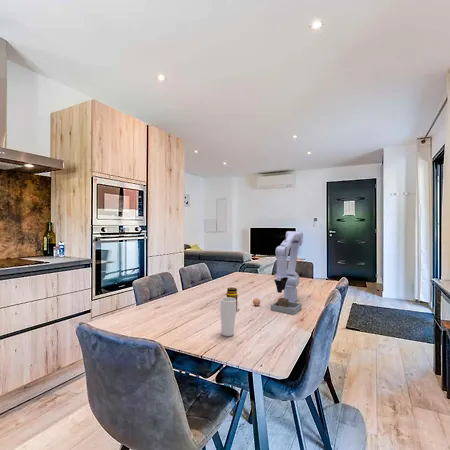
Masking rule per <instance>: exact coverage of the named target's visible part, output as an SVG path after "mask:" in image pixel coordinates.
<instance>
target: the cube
mask: <svg viewBox="0 0 450 450" xmlns="http://www.w3.org/2000/svg"><path fill="white" fill-rule="evenodd" d="M277 301H278V306H281V307H286V308H287V307H288V299H286V298H284V297H280V298H278V299H277Z"/></svg>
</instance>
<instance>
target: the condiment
mask: <svg viewBox="0 0 450 450" xmlns="http://www.w3.org/2000/svg"><path fill="white" fill-rule="evenodd" d="M226 289H227V291H226V294H225V295H226V297H230V298H235V299H236V312H238V311H239V310H240V308H238V296H239V295H238V289H237V288H236V287H228V288H226ZM226 297H225V298H226Z"/></svg>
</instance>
